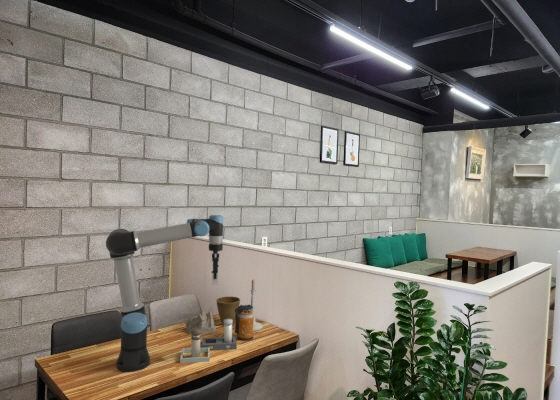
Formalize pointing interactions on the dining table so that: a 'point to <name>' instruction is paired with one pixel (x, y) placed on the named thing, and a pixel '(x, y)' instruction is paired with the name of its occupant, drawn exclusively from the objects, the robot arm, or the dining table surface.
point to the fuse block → (219, 343)
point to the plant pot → (227, 308)
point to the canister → (244, 322)
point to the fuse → (228, 330)
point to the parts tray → (195, 359)
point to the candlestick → (256, 325)
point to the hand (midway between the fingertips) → (214, 281)
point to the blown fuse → (195, 342)
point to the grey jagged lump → (201, 323)
